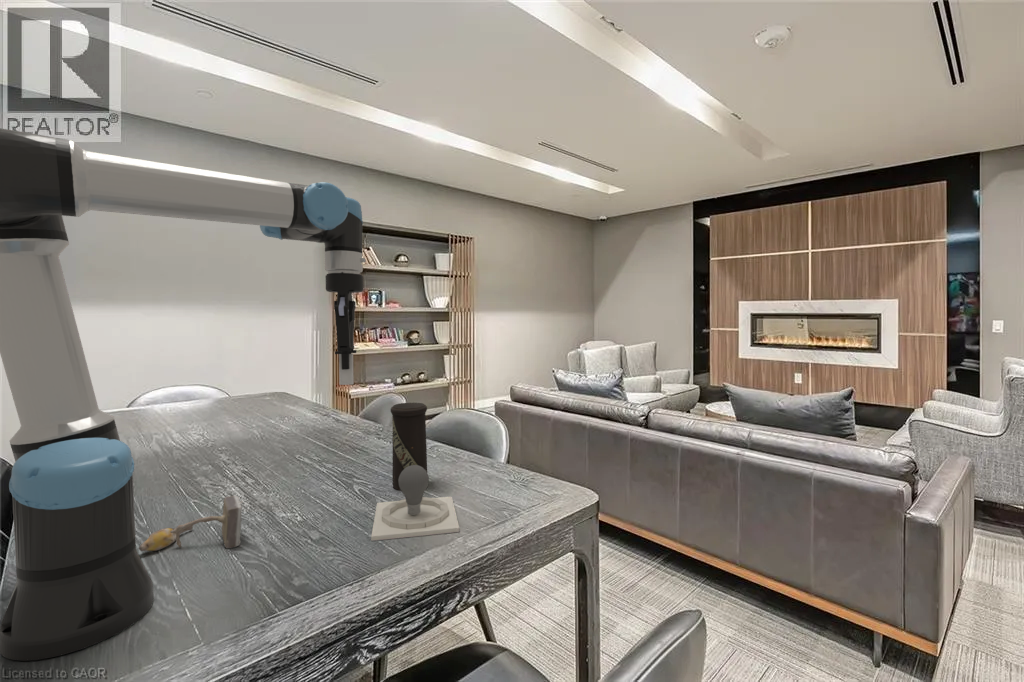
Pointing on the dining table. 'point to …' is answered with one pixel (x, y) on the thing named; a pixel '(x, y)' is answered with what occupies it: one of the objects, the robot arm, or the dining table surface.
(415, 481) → the light bulb
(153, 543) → the decorative sculpture
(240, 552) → the dining table surface
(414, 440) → the container
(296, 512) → the dining table surface
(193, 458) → the dining table surface
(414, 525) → the socket
